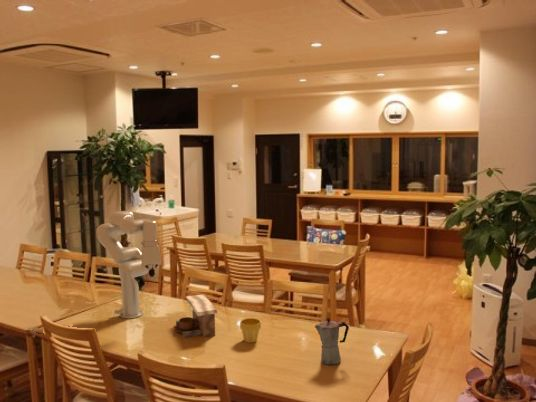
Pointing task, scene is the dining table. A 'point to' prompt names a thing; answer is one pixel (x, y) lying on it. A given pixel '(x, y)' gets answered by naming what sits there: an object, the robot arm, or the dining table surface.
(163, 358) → the dining table surface
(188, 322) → the cup and saucer
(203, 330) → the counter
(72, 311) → the dining table surface
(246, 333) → the plant pot
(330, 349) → the moka pot
